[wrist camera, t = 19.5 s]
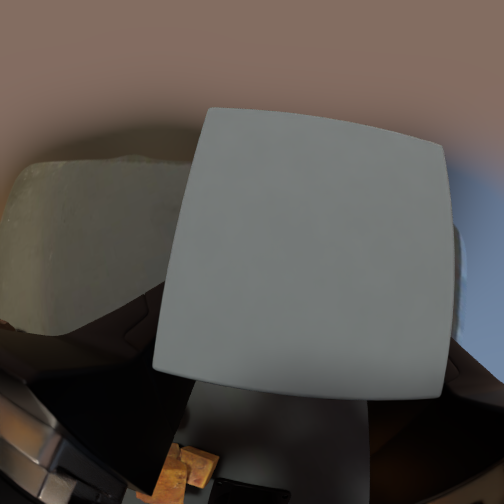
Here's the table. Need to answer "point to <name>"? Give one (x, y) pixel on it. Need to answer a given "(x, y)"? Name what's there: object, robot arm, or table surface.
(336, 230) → the grey stepped block
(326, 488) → the table surface
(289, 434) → the table surface
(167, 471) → the pyrite
